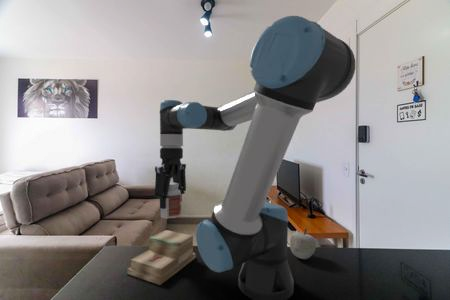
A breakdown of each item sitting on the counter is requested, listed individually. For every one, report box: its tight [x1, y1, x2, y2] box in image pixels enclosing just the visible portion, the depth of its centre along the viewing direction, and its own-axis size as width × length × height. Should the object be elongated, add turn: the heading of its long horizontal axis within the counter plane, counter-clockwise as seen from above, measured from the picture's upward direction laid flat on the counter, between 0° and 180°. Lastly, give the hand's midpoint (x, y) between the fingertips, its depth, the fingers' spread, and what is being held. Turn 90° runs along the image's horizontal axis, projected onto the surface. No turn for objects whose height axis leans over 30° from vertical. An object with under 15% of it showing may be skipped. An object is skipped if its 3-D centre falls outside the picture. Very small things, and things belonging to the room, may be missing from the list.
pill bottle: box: [163, 181, 182, 219], centre depth 80 cm, size 6×6×11 cm
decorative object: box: [289, 228, 317, 260], centre depth 83 cm, size 9×9×10 cm
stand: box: [126, 229, 197, 286], centre depth 77 cm, size 13×18×8 cm
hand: (171, 214), depth 80 cm, fingers closed on pill bottle, 6 cm apart
